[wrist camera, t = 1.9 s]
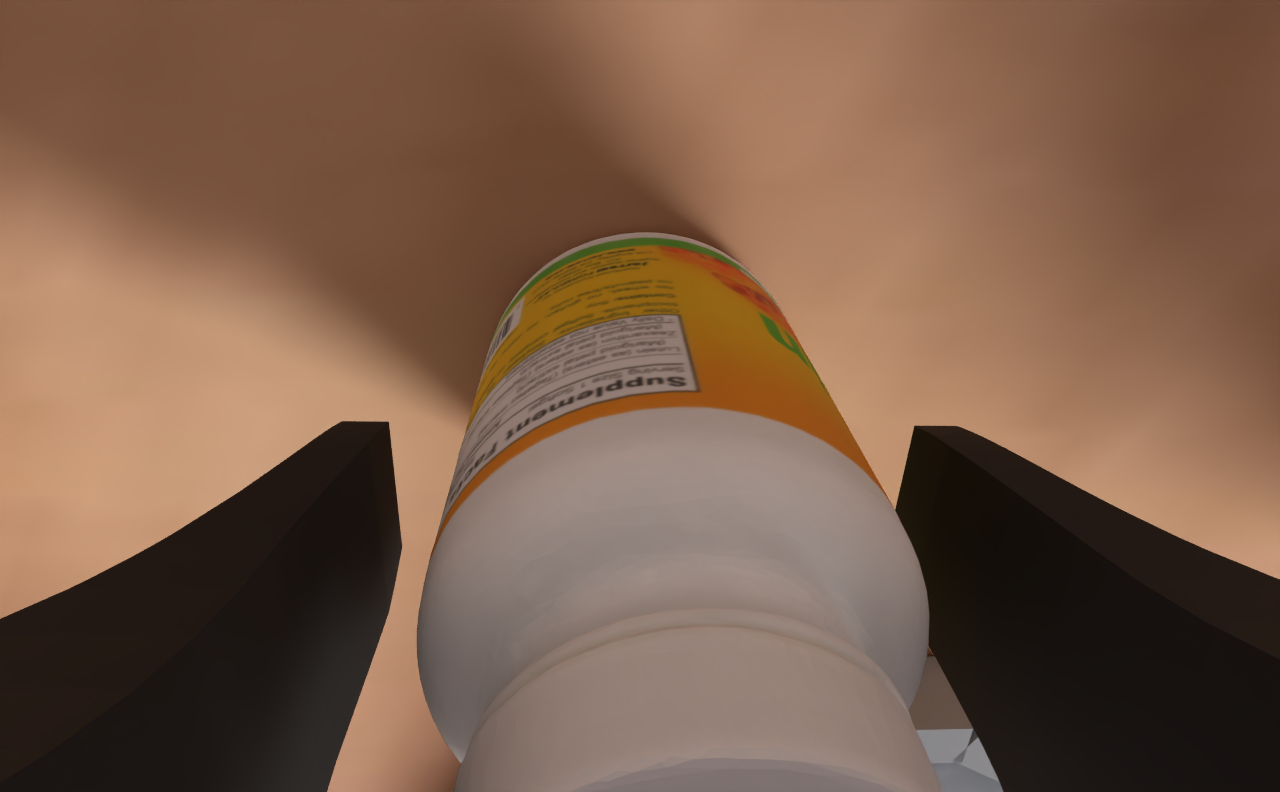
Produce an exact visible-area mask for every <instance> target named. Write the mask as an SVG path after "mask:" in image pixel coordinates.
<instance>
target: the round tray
mask: <svg viewBox="0 0 1280 792" xmlns="http://www.w3.org/2000/svg"><path fill="white" fill-rule="evenodd" d="M908 711H909V714H910V716H911V720H912V722H913V725H914V727H915V729H916V731H917V733H918V735H919V737H920V739H921V741H922V744H923V746H924V748H925V750H926V753H927V755H928V757H929V760H930V762H931V764H932V766H933V769H934V771H935V773H936V775H937V778H938V780H939V783H940V785H941V788H942V790H943V792H1003V790H1002V787H1001V785H1000V782H999V780H998V777H997V775H996V773H995V771H994V769H993V767H992V765H991V763H990V761H989V759H988V756H987V754H986V752H985V750H984V748H983V746H982V744H981V742H980V740H979V738H978V736H977V735H976V733H975V731H974V729H973V727H972V725H971V723H970V721H969V720H968V718H967V716H966V714H965V712H964V710H963V708H962V706H961V704H960V703H959V701H958V699H957V697H956V695H955V693H954V691H953V689H952V688H951V686H950V684H949V682H948V680H947V678H946V676H945V674H944V673H943V671H942V669H941V667H940V665H939V663H938V661H937V659H936V658H935V656H929V657H927V658H926V662H925V666H924V670H923V674H922V679H921V683H920V685H919V688H918V690H917V693H916V695H915V698H914V700H913V702H912V704H911V706H910V708H909V710H908Z"/></svg>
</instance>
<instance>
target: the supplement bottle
mask: <svg viewBox="0 0 1280 792" xmlns="http://www.w3.org/2000/svg"><path fill="white" fill-rule="evenodd" d="M929 617H930V615H929V606H928V597H927V589H926V586H925V582H924V578H923V575H922V571H921V567H920V564H919V561H918V558H917V556H916V553H915V551H914V548H913V546H912V543H911V541H910V539H909V537H908V535H907V534H906V531H905V530H904V528H903V526H902V524H901V522H900V519H899V517H898V515H897V513H896V511H895V509H894V507H893V506H892V504H891V502H890V500H889V499H888V497H887V495H886V493H885V492H884V490H883V488H882V486H881V485H880V483H879V481H878V480H877V478H876V476H875V474H874V473H873V471H872V469H871V467H870V466H869V464H868V462H867V460H866V458H865V457H864V455H863V453H862V451H861V450H860V448H859V446H858V444H857V442H856V441H855V439H854V437H853V435H852V434H851V432H850V430H849V428H848V426H847V425H846V423H845V421H844V419H843V417H842V416H841V414H840V412H839V411H838V409H837V407H836V405H835V403H834V402H833V400H832V398H831V396H830V394H829V392H828V391H827V389H826V387H825V386H824V384H823V382H822V381H821V379H820V377H819V375H818V373H817V372H816V370H815V368H814V367H813V365H812V363H811V362H810V360H809V358H808V356H807V355H806V353H805V351H804V350H803V348H802V346H801V344H800V343H799V341H798V339H797V338H796V336H795V334H794V332H793V330H792V329H791V327H790V325H789V324H788V322H787V320H786V318H785V316H784V314H783V312H782V311H781V309H780V308H779V306H778V305H777V303H776V302H775V300H774V299H773V298H772V296H771V295H770V294H769V292H768V291H767V290H766V288H765V287H764V286H763V285H762V284H761V282H760V281H759V280H758V279H757V278H756V277H755V276H754V275H753V274H752V273H751V272H750V271H749V270H747V269H746V268H745V267H744V266H743V265H741V264H740V263H739V262H737V261H736V260H734V259H733V258H731V257H730V256H728V255H727V254H725V253H724V252H722V251H720V250H718V249H716V248H714V247H712V246H710V245H707V244H704V243H702V242H699V241H696V240H694V239H691V238H687V237H682V236H678V235H672V234H665V233H656V232H636V233H626V234H619V235H613V236H609V237H604V238H599V239H596V240H593V241H590V242H587V243H585V244H582V245H580V246H577V247H575V248H572V249H570V250H568V251H566V252H564V253H563V254H561V255H559V256H558V257H556V258H555V259H553V260H552V261H550V262H549V263H547V264H546V265H545V266H543V267H542V268H541V269H540V270H539V271H538V272H536V273H535V274H534V275H533V276H532V277H531V278H530V279H529V280H528V281H527V282H526V283H525V284H524V285H523V287H522V288H521V289H520V290H519V291H518V293H517V294H516V295H515V296H514V298H513V299H512V301H511V302H510V304H509V306H508V307H507V309H506V310H505V312H504V314H503V315H502V317H501V320H500V322H499V324H498V326H497V329H496V331H495V334H494V336H493V338H492V341H491V344H490V347H489V351H488V354H487V357H486V360H485V364H484V367H483V371H482V375H481V378H480V382H479V386H478V390H477V393H476V396H475V401H474V404H473V408H472V411H471V415H470V418H469V422H468V425H467V429H466V433H465V436H464V439H463V442H462V445H461V449H460V452H459V456H458V460H457V465H456V469H455V472H454V476H453V479H452V483H451V486H450V490H449V493H448V497H447V500H446V504H445V508H444V511H443V515H442V519H441V522H440V526H439V530H438V533H437V537H436V541H435V544H434V547H433V550H432V553H431V556H430V561H429V565H428V569H427V573H426V578H425V582H424V587H423V593H422V599H421V603H420V608H419V615H418V625H417V659H418V667H419V674H420V680H421V684H422V688H423V691H424V695H425V699H426V702H427V704H428V707H429V710H430V712H431V715H432V718H433V720H434V722H435V724H436V726H437V728H438V730H439V731H440V733H441V735H442V737H443V739H444V741H445V742H446V743H447V745H448V746H449V748H450V749H451V750H452V752H453V753H454V755H455V756H456V757H457V759H458V760H459V762H460V763H461V766H460V768H459V770H458V775H457V779H456V783H455V788H454V792H943V790H942V788H941V785H940V783H939V780H938V778H937V775H936V773H935V771H934V769H933V766H932V764H931V762H930V760H929V757H928V755H927V753H926V750H925V748H924V746H923V744H922V741H921V739H920V737H919V735H918V733H917V731H916V729H915V727H914V725H913V722H912V720H911V716H910V714H909V711H908V710H909V708H910V706H911V704H912V702H913V700H914V698H915V695H916V693H917V690H918V688H919V685H920V683H921V679H922V674H923V670H924V666H925V662H926V658H927V652H928V643H929Z"/></svg>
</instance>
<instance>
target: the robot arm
mask: <svg viewBox="0 0 1280 792" xmlns="http://www.w3.org/2000/svg"><path fill="white" fill-rule="evenodd" d="M895 511H896V513H897V515H898V517H899V519H900V522H901V524H902V526H903V528H904V530H905V531H906V534H907V535H908V537H909V539H910V541H911V543H912V546H913V548H914V551H915V553H916V556H917V558H918V561H919V564H920V567H921V571H922V575H923V578H924V582H925V586H926V589H927V597H928V606H929V615H930V617H929V643H928V644H929V646H930V648H931V650H932V652H933V654H934V656H935V658H936V659H937V661H938V663H939V665H940V667H941V669H942V671H943V673H944V674H945V676H946V678H947V680H948V682H949V684H950V686H951V688H952V689H953V691H954V693H955V695H956V697H957V699H958V701H959V703H960V704H961V706H962V708H963V710H964V712H965V714H966V716H967V718H968V720H969V721H970V723H971V725H972V727H973V729H974V731H975V733H976V735H977V736H978V738H979V740H980V742H981V744H982V746H983V748H984V750H985V752H986V754H987V756H988V759H989V761H990V763H991V765H992V767H993V769H994V771H995V773H996V775H997V777H998V780H999V782H1000V785H1001V787H1002V790H1003V792H1280V579H1277V578H1274V577H1272V576H1269V575H1267V574H1264V573H1262V572H1259V571H1257V570H1254V569H1252V568H1250V567H1247V566H1245V565H1242V564H1240V563H1237V562H1235V561H1233V560H1230V559H1228V558H1225V557H1223V556H1220V555H1218V554H1215V553H1213V552H1211V551H1208V550H1206V549H1204V548H1201V547H1199V546H1197V545H1195V544H1192V543H1190V542H1188V541H1185V540H1183V539H1181V538H1179V537H1177V536H1174V535H1172V534H1170V533H1168V532H1166V531H1164V530H1162V529H1160V528H1158V527H1156V526H1154V525H1152V524H1150V523H1148V522H1145V521H1143V520H1141V519H1139V518H1137V517H1135V516H1133V515H1131V514H1129V513H1127V512H1125V511H1123V510H1121V509H1119V508H1117V507H1115V506H1113V505H1111V504H1109V503H1107V502H1105V501H1103V500H1101V499H1099V498H1097V497H1095V496H1094V495H1092V494H1090V493H1088V492H1086V491H1084V490H1082V489H1080V488H1078V487H1077V486H1075V485H1073V484H1071V483H1069V482H1067V481H1065V480H1063V479H1062V478H1060V477H1058V476H1056V475H1054V474H1052V473H1050V472H1049V471H1047V470H1045V469H1043V468H1041V467H1039V466H1037V465H1036V464H1034V463H1032V462H1030V461H1028V460H1026V459H1024V458H1023V457H1021V456H1019V455H1017V454H1015V453H1013V452H1011V451H1009V450H1008V449H1006V448H1004V447H1002V446H1000V445H998V444H996V443H994V442H992V441H990V440H988V439H986V438H984V437H982V436H980V435H977V434H975V433H973V432H971V431H968V430H966V429H963V428H961V427H958V426H914V430H913V435H912V439H911V444H910V448H909V452H908V457H907V461H906V465H905V470H904V474H903V479H902V483H901V487H900V492H899V496H898V501H897V505H896V509H895ZM401 550H402V542H401V532H400V523H399V513H398V504H397V495H396V485H395V476H394V467H393V457H392V448H391V439H390V429H389V422H355V421H342V422H340V423H338V424H336V425H335V426H333V427H331V428H330V429H328V430H327V431H325V432H324V433H322V434H321V435H319V436H318V437H317V438H315V439H314V440H312V441H311V442H310V443H308V444H307V445H305V446H304V447H303V448H301V449H300V450H298V451H297V452H296V453H294V454H293V455H291V456H290V457H289V458H287V459H286V460H284V461H283V462H281V463H280V464H279V465H277V466H276V467H274V468H273V469H271V470H270V471H269V472H267V473H266V474H264V475H263V476H261V477H260V478H259V479H257V480H256V481H254V482H253V483H251V484H250V485H248V486H247V487H246V488H244V489H243V490H241V491H240V492H238V493H237V494H235V495H234V496H232V497H230V498H229V499H227V500H226V501H224V502H223V503H221V504H219V505H218V506H216V507H215V508H213V509H211V510H210V511H208V512H207V513H205V514H204V515H202V516H200V517H199V518H197V519H196V520H194V521H192V522H191V523H189V524H188V525H186V526H185V527H183V528H181V529H180V530H178V531H177V532H175V533H173V534H172V535H170V536H168V537H167V538H165V539H163V540H161V541H160V542H158V543H156V544H154V545H153V546H151V547H149V548H147V549H145V550H144V551H142V552H140V553H138V554H136V555H135V556H133V557H131V558H129V559H127V560H125V561H123V562H121V563H119V564H117V565H115V566H113V567H111V568H109V569H108V570H106V571H104V572H102V573H100V574H98V575H96V576H94V577H92V578H90V579H88V580H86V581H84V582H82V583H80V584H78V585H76V586H74V587H72V588H70V589H67V590H65V591H63V592H61V593H58V594H56V595H54V596H51V597H49V598H47V599H45V600H42V601H40V602H38V603H36V604H33V605H31V606H29V607H26V608H24V609H22V610H20V611H17V612H15V613H13V614H11V615H8V616H6V617H4V618H1V619H0V792H327V790H328V786H329V783H330V780H331V777H332V773H333V770H334V767H335V764H336V760H337V758H338V755H339V752H340V749H341V746H342V744H343V741H344V738H345V735H346V732H347V730H348V727H349V724H350V721H351V718H352V716H353V713H354V710H355V707H356V704H357V701H358V699H359V696H360V693H361V690H362V687H363V685H364V682H365V679H366V676H367V673H368V671H369V668H370V665H371V662H372V659H373V656H374V654H375V651H376V648H377V645H378V642H379V639H380V636H381V633H382V631H383V628H384V625H385V622H386V619H387V616H388V613H389V609H390V604H391V600H392V595H393V591H394V586H395V581H396V576H397V571H398V566H399V560H400V555H401Z"/></svg>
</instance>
